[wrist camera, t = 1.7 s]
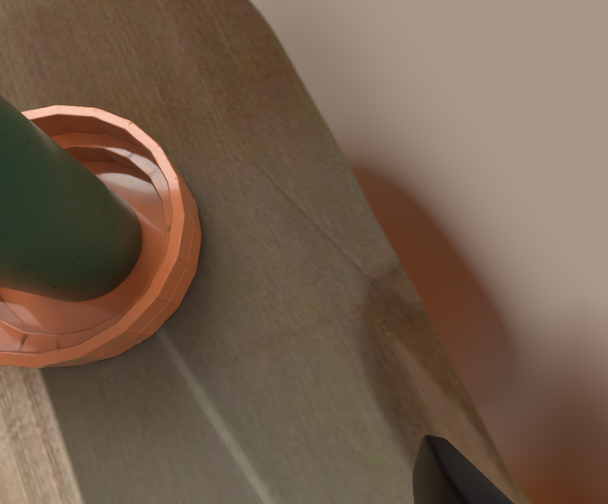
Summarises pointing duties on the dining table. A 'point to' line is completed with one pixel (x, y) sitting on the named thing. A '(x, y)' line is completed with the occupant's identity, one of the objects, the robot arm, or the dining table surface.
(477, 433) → the dining table surface
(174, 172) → the bowl
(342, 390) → the dining table surface
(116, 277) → the tin
